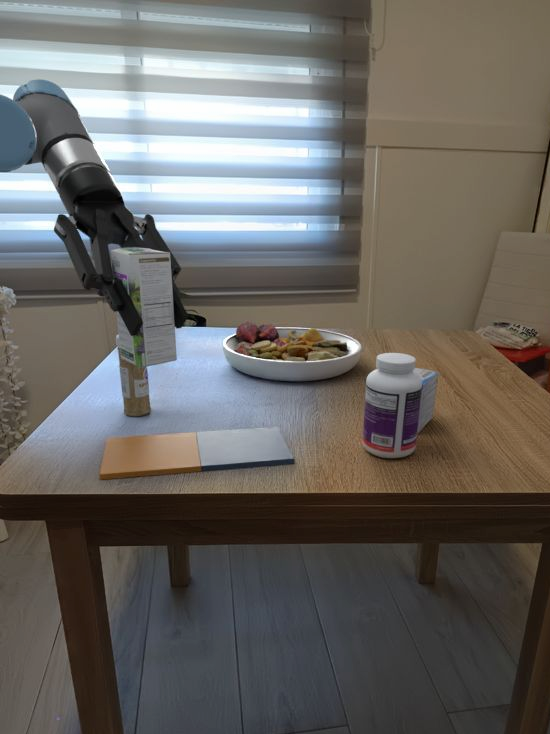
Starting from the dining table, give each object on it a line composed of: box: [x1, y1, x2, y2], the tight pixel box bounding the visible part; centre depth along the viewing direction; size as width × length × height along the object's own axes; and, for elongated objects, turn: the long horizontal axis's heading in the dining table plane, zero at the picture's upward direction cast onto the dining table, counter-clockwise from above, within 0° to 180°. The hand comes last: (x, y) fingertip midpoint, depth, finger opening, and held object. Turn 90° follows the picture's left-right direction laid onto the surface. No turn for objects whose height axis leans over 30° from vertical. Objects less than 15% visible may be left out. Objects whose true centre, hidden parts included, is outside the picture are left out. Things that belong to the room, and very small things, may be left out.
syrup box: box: [110, 247, 178, 368], centre depth 75 cm, size 6×6×14 cm
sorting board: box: [99, 426, 295, 481], centre depth 83 cm, size 26×12×1 cm, turn 105°
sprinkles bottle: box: [115, 334, 152, 417], centre depth 95 cm, size 5×5×14 cm
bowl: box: [222, 321, 362, 382], centre depth 125 cm, size 30×30×8 cm
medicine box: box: [413, 367, 439, 435], centre depth 95 cm, size 8×4×9 cm, turn 152°
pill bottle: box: [362, 352, 422, 459], centre depth 84 cm, size 8×8×14 cm
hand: (160, 325), depth 74 cm, fingers closed on syrup box, 6 cm apart
